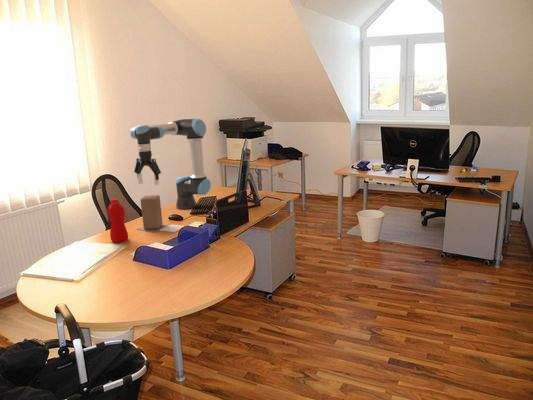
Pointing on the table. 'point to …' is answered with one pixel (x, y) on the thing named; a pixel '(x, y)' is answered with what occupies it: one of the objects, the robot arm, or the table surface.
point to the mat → (172, 228)
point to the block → (151, 212)
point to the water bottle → (117, 221)
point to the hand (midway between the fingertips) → (148, 184)
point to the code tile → (153, 229)
